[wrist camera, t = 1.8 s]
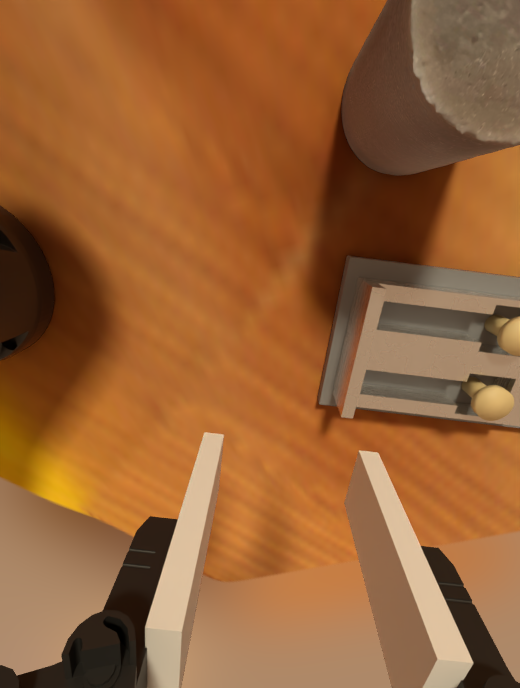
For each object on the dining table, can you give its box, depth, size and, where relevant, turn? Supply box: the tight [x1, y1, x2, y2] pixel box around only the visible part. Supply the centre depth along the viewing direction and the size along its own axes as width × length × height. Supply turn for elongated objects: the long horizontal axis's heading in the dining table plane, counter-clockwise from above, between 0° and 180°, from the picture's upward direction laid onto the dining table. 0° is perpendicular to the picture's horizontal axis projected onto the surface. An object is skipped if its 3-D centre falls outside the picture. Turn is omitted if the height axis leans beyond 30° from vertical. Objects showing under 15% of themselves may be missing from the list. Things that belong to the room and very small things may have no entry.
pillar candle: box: [342, 0, 520, 176], centre depth 17 cm, size 10×10×15 cm
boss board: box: [318, 256, 520, 428], centre depth 29 cm, size 28×14×5 cm, turn 83°
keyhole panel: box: [332, 277, 520, 426], centre depth 28 cm, size 17×11×4 cm, turn 83°
